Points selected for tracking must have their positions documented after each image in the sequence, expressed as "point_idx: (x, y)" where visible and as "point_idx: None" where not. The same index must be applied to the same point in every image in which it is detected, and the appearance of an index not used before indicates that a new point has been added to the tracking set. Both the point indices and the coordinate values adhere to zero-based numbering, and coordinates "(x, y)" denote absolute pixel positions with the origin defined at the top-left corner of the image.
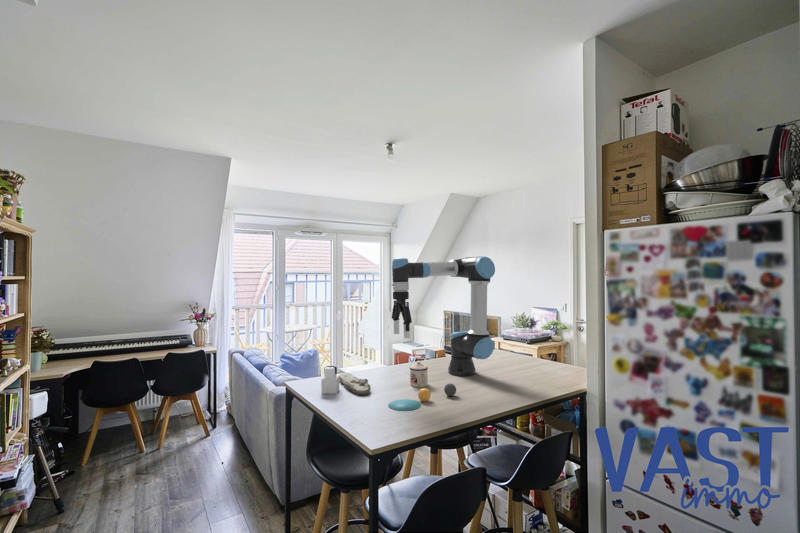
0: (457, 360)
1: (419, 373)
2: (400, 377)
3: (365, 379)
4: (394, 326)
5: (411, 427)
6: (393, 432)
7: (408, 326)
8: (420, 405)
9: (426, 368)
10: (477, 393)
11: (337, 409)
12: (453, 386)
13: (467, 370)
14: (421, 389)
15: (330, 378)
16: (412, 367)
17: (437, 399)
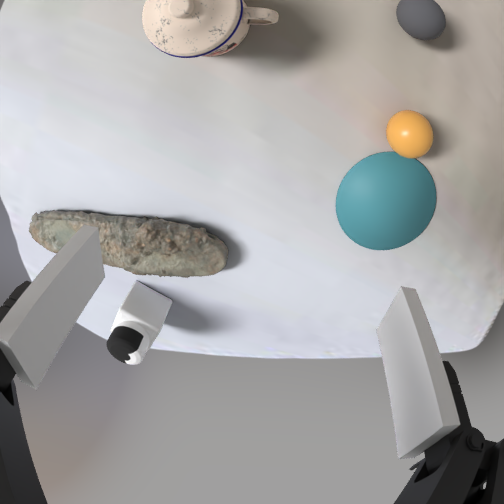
0: None
1: (236, 30)
2: (83, 50)
3: (151, 239)
4: (65, 331)
5: (488, 272)
6: (473, 307)
7: (458, 412)
8: (427, 171)
9: None
10: None
11: (292, 338)
12: (444, 17)
13: None
14: (413, 150)
15: (152, 339)
16: (191, 50)
17: (416, 81)
